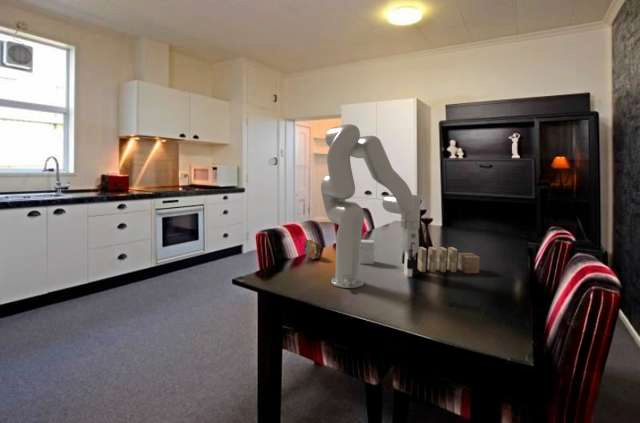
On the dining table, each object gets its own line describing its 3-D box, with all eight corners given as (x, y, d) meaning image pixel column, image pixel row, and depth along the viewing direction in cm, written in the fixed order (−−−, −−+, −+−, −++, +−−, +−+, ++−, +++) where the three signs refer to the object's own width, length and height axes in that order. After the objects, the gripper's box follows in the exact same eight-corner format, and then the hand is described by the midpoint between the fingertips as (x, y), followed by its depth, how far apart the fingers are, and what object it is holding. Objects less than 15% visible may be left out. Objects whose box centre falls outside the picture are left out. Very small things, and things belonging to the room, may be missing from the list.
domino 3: (431, 268, 164) (432, 247, 162) (435, 271, 159) (436, 249, 157) (427, 268, 163) (428, 246, 162) (431, 271, 158) (432, 249, 157)
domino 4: (441, 268, 164) (442, 247, 163) (445, 271, 159) (447, 249, 158) (437, 268, 164) (438, 247, 162) (441, 271, 159) (442, 249, 157)
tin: (303, 254, 188) (303, 238, 187) (309, 253, 189) (309, 237, 188) (315, 261, 174) (315, 243, 173) (321, 260, 176) (321, 243, 175)
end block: (478, 273, 158) (479, 257, 157) (465, 272, 158) (466, 257, 157) (470, 268, 166) (471, 253, 165) (457, 267, 165) (458, 252, 165)
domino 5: (451, 268, 164) (452, 247, 163) (455, 272, 159) (457, 249, 158) (447, 268, 164) (448, 247, 163) (451, 272, 159) (452, 249, 158)
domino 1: (408, 273, 156) (409, 250, 155) (411, 276, 151) (413, 253, 150) (403, 273, 156) (405, 250, 155) (407, 276, 151) (408, 252, 150)
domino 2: (421, 268, 163) (422, 246, 162) (425, 271, 158) (426, 249, 157) (417, 268, 163) (418, 246, 162) (420, 271, 158) (422, 249, 157)
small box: (373, 261, 175) (374, 239, 174) (373, 264, 170) (374, 242, 168) (356, 260, 176) (357, 239, 175) (356, 263, 171) (357, 241, 169)
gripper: (425, 228, 143) (423, 272, 145) (412, 221, 160) (411, 261, 162) (406, 227, 142) (405, 272, 144) (396, 221, 160) (394, 260, 162)
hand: (408, 265), depth 153 cm, fingers open, 7 cm apart
